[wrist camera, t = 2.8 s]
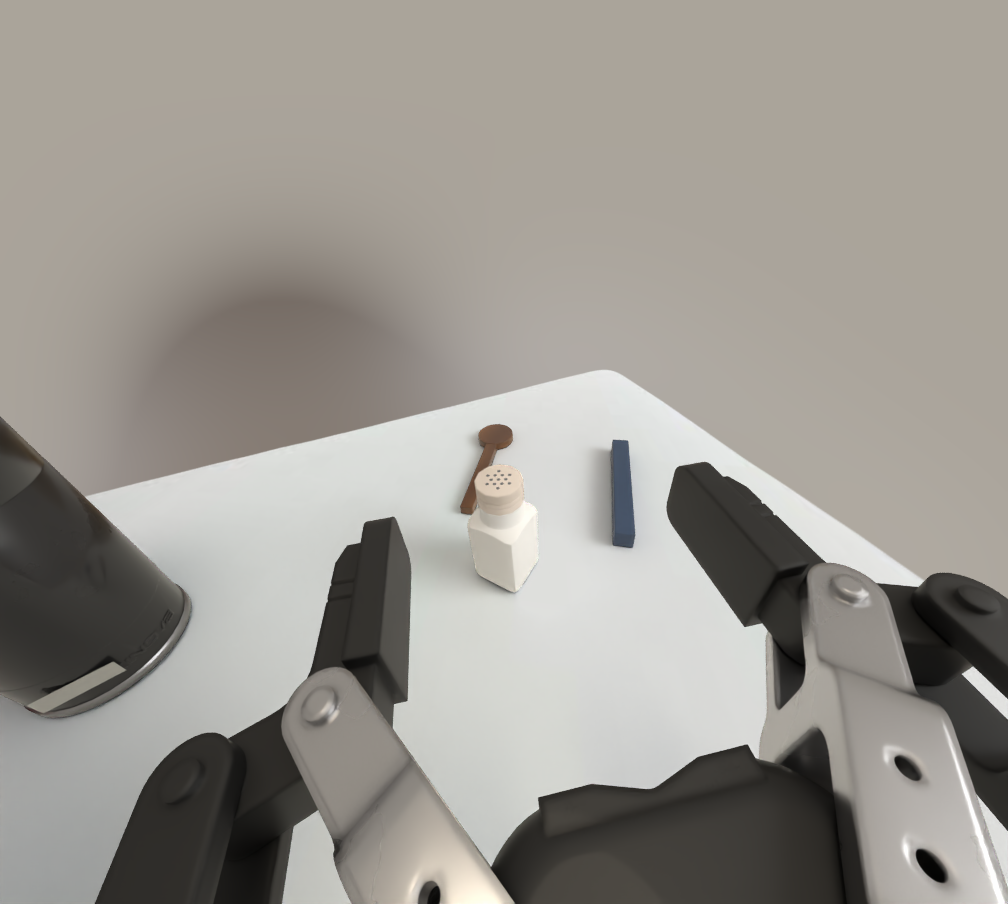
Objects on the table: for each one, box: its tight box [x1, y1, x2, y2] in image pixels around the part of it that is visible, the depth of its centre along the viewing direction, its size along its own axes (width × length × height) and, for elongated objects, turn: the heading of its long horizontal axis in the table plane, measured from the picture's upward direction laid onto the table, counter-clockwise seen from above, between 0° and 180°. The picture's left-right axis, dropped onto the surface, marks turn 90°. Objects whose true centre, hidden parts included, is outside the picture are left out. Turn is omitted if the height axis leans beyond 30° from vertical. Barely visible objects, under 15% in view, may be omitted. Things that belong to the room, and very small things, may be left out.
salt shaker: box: [467, 464, 539, 592], centre depth 28 cm, size 4×4×10 cm
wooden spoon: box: [460, 424, 513, 514], centre depth 41 cm, size 4×14×1 cm, turn 168°
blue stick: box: [611, 440, 635, 547], centre depth 36 cm, size 2×13×2 cm, turn 168°
